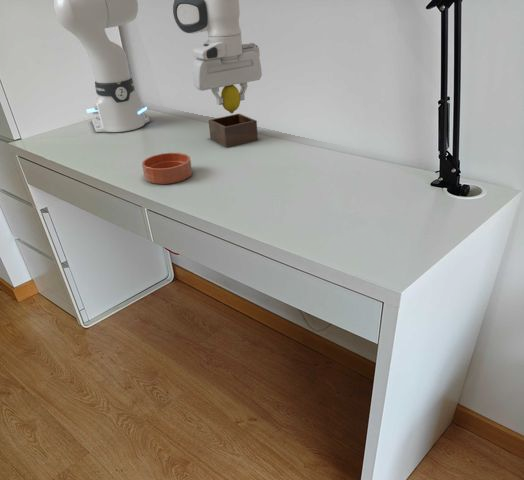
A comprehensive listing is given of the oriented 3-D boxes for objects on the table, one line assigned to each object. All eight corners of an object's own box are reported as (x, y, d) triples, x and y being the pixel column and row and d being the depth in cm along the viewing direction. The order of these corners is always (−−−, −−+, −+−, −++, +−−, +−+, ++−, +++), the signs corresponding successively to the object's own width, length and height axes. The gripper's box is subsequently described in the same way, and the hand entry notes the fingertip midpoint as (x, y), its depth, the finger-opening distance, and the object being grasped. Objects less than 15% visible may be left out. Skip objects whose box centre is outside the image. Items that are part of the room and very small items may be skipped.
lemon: (244, 114, 145) (241, 83, 140) (226, 117, 143) (223, 86, 138) (237, 109, 149) (234, 80, 144) (219, 112, 147) (216, 82, 142)
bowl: (138, 174, 131) (135, 159, 129) (180, 164, 136) (178, 149, 133) (155, 188, 123) (152, 172, 120) (200, 177, 127) (198, 161, 125)
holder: (210, 139, 152) (208, 120, 149) (240, 132, 156) (239, 113, 153) (226, 147, 145) (224, 127, 142) (257, 140, 149) (256, 120, 145)
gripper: (252, 40, 141) (256, 94, 150) (187, 50, 134) (194, 106, 142) (264, 43, 137) (266, 97, 146) (197, 53, 129) (204, 110, 138)
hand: (230, 102), depth 144 cm, fingers closed on lemon, 5 cm apart
